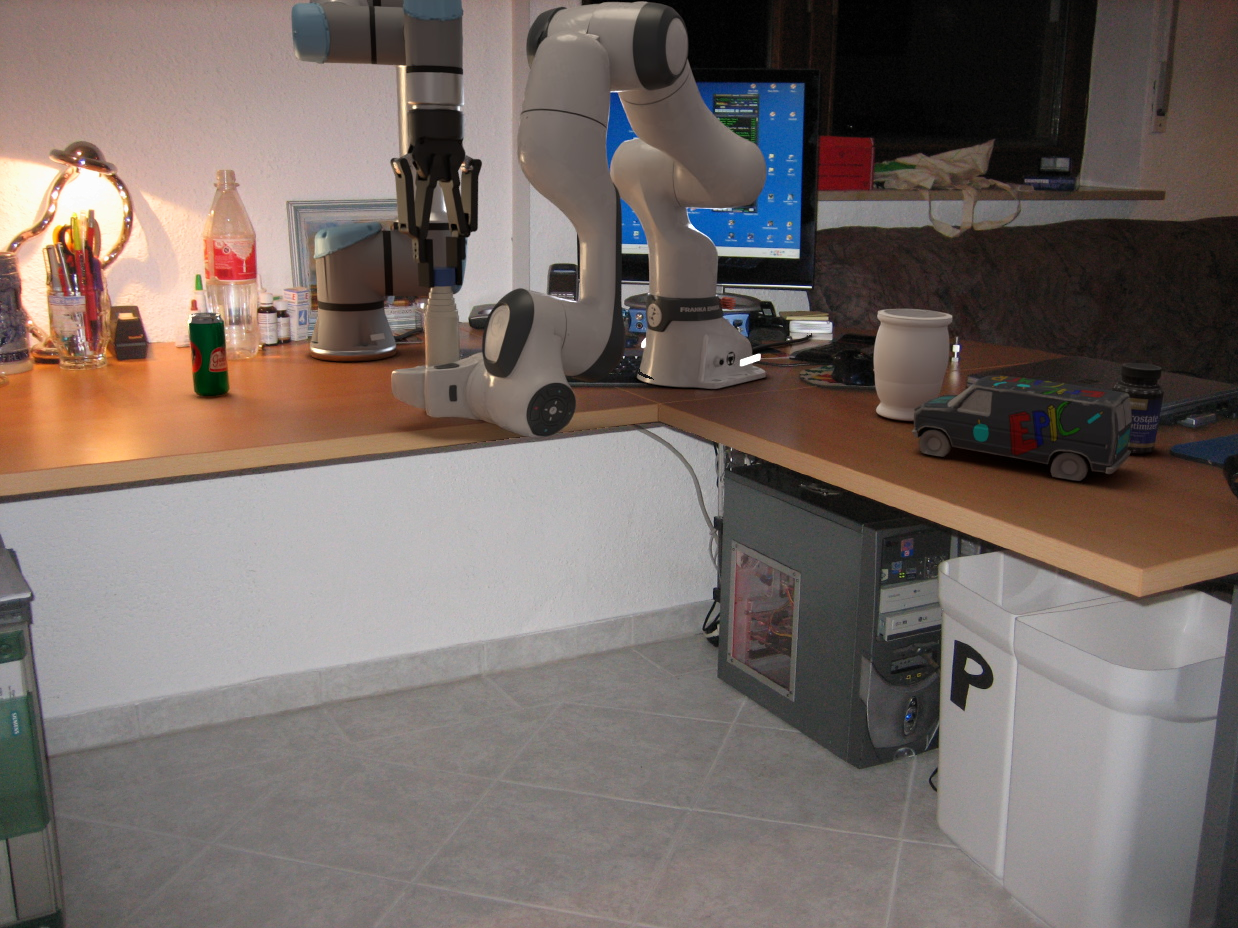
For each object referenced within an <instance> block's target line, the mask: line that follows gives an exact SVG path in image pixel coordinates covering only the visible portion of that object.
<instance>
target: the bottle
mask: <svg viewBox="0 0 1238 928" xmlns="http://www.w3.org/2000/svg"><path fill="white" fill-rule="evenodd" d="M430 290H431V291H430V292H429V296H428V297H427V299H426V300H427V302H426V303H425V309H424V315H423V324H424V325H423V327H424V330H425V331H424V357H425V358H424V360H425V365H427V366H433V365H442V364H448V363H453V362H456V361H459V360H461V347H460V346H461V345H460V343H461V342H460V341H461V339H460V315H459V309H458V308H457V303H456V301H455V300H456V298H455V297H454V295H453V292H451V286H445V287H436V286H434V288H430Z"/></svg>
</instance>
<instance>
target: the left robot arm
mask: <svg viewBox="0 0 1238 928" xmlns="http://www.w3.org/2000/svg"><path fill="white" fill-rule="evenodd" d="M290 13H291V14H290V15H291V18H290V19H291V35H292V45H293V52H294V56H295V57H296V59H297V60H298V61H300V62H308V63H316V64H319V65H324V64H353V65H354V64H357V65H358V64H359V65H377V66H378V65H379V66H380V65H381V66H394V67H395V71H396V73H395V74H396V100H397V127H398V128H397V129H398V150H399V151H398V153H399V154H398V155H399V157H392V158H391V159H390V161H389V163H390V166H391V169H392V172H393V174H394V182H395V195H396V209H397V210H396V211H397V215H396V216H395V217H394V218H393V219H392V225H393V229H391V230H385V229H384V230H383V227H382V225H381V223H380V222H378V221H368V222H358V223H357V222H355V223H348V224H341V225H335V226H330V227H326V228H322V229H319V231H317V232H316V234H315V235H314V255H313V259H314V260H315V275H316V276H315V278H316V297H317V310H318V311H317V316H316V321H315V323H314V327H313V331H312V335H311V338H310V342H309V355H310V356H311V357H312V358H314V359H317V360H323V361H331V362H366V361H376V360H382V359H387V358H390V357H394V356H395V355H396V354H397V342H396V341H399V340H402V339H405V338H407V337H409V336H412V335H414V334H417V333H421V332H424V331H423V327H419V328H414V329H411V330H409V331H406V332H405V333H403V334H399V335H394V333H393V331H392V329H391V325H390V323H389V320H388V317H387V314H386V311H385V297H429V292H430V291H431V290H430V288H434V267H435V266H444V267H454V268H455V285H454V286H451V292H453V296H454V295H457V294H458V293H459V292H460V291H461V290H462V287H463V285H464V281H465V280H464V279H465V274H466V267H467V258H468V241H469V239H468V238H470V236H471V234H472V233H475V232H477V231H478V229H479V177H480V174H481V169H482V167H483V161H482V160H481V159H479V158H473V157H471V156H469V155H467V153H466V150H465V148H464V144H463V142H464V139H465V136H466V129H465V127H466V125H465V113H464V111H462V110H461V108H462V107H464V106H465V81H464V80H465V79H464V76H465V75H464V67H463V65H464V63H463V62H464V61H463V60H464V59H463V58H464V57H463V56H464V55H463V54H464V53H463V52H464V48H463V47H464V37H463V36H464V35H463V16H464V9H463V2H462V0H309V2H298V3H295V4H293V6H292V7H291V12H290ZM459 170H461V175H460V173H459Z"/></svg>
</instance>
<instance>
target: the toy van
mask: <svg viewBox="0 0 1238 928" xmlns="http://www.w3.org/2000/svg"><path fill="white" fill-rule="evenodd" d="M914 410H915V412H914V421H913V429H912V430H911V433H912V435H913V438H914V439H918V438H919V439H918V447H919V450H920V452H921V453H922V454H926V455H930V456H934V457H935V456H936V457H942V458H945V457H946V456H947V455H948V454H949V453H950V452H951V450H952V448H958V449H962V450H963V449H964V450H969V451H974V452H978V453H979V452H980V453H984V454H985V453H986V454H990V455H996V456H1002V457H1007V458H1012V459H1013V458H1014V459H1019V460H1024V461H1029V462H1033V463H1039V464H1043V465H1044V464H1045V465H1048V464H1049V465H1050V463H1051V465H1050V475H1051V476H1052V478H1058V479H1065V480H1069V481H1077V482H1080V481H1082V480H1083V479H1085V478H1086V476H1087V474H1088V472H1089V469H1091V472H1098V473H1105V474H1107V475H1112V474H1113V473H1115V472H1116V471H1117V470H1118V469H1119V468H1120V467H1121V466H1122V465H1123V464H1124V463H1125V462H1126V461H1127V460H1128V458H1129V457H1130V455H1131V454H1132V453H1131V451H1130V450H1128V446H1129V445H1130V442H1129V440H1130V436H1131V430H1132V427H1133V423H1132V414H1131V405H1130V396H1129V394H1127V393H1124V392H1118V391H1112V389H1111V390H1110V389H1104V388H1097V387H1090V386H1084V385H1078V384H1071V383H1064V382H1058V381H1051V380H1043V379H1036V378H1030V377H1029V378H1028V377H1019V376H1009V375H1007V376H1006V375H999V374H997V375H996V374H995V375H987V376H984V377H980V378H979V379H977V380H976V381H975V382H973V383H972V384H971V385H970V386H968V387H967V388H966V389H965V390H963V391H962V392H960V393H958V394H943V395H939V396H938V397H937V398H934V399H932V400H929V401H927V402H925V403H923V404H921V405H920V406H918V407H917V408H915V409H914Z"/></svg>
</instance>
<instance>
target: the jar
mask: <svg viewBox="0 0 1238 928" xmlns="http://www.w3.org/2000/svg"><path fill="white" fill-rule="evenodd" d="M877 319H878V321H880V325H879V327H878V329H877V334H876V337H875V342H874V347H873V372H874V384H875V385H874V386H875V391H876V395H877V398H878V399H879V401H880V402H879V404H877V405H878V406H877V407H876V409H875V412H876V413H877V415H879V416H881V417H884V418H887V419H889V420H890V419H891V420H896V421H903V422H914V412H915V410H914V409H915V408H917V407H918V406H920V405H921V404H923V403H925V402H927V401H929V400H932V399H934V398H937V397H940V393H941V391H942V388H943V384H944V378H945V377H946V376H945V375H946V373H947V369H948V364H949V360H950V359H949V357H950V334H949V327H948V326H949V325H951V324H952V323H953V315H952V314H950V313H947V312H943V311H936V310H929V309H918V308H888V309H880V310H878V311H877Z"/></svg>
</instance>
